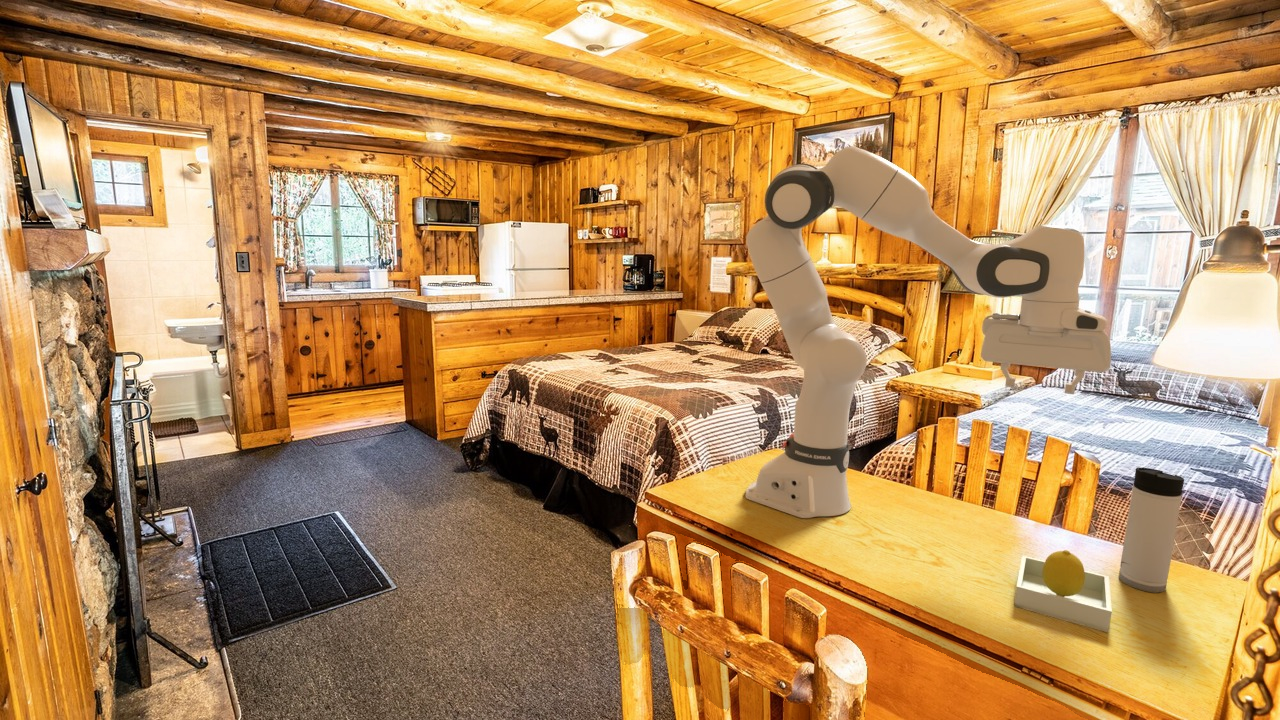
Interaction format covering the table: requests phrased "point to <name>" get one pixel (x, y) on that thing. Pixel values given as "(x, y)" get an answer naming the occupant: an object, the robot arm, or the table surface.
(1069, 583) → the lemon
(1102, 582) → the bin
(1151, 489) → the travel mug
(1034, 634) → the table surface
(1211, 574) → the table surface
